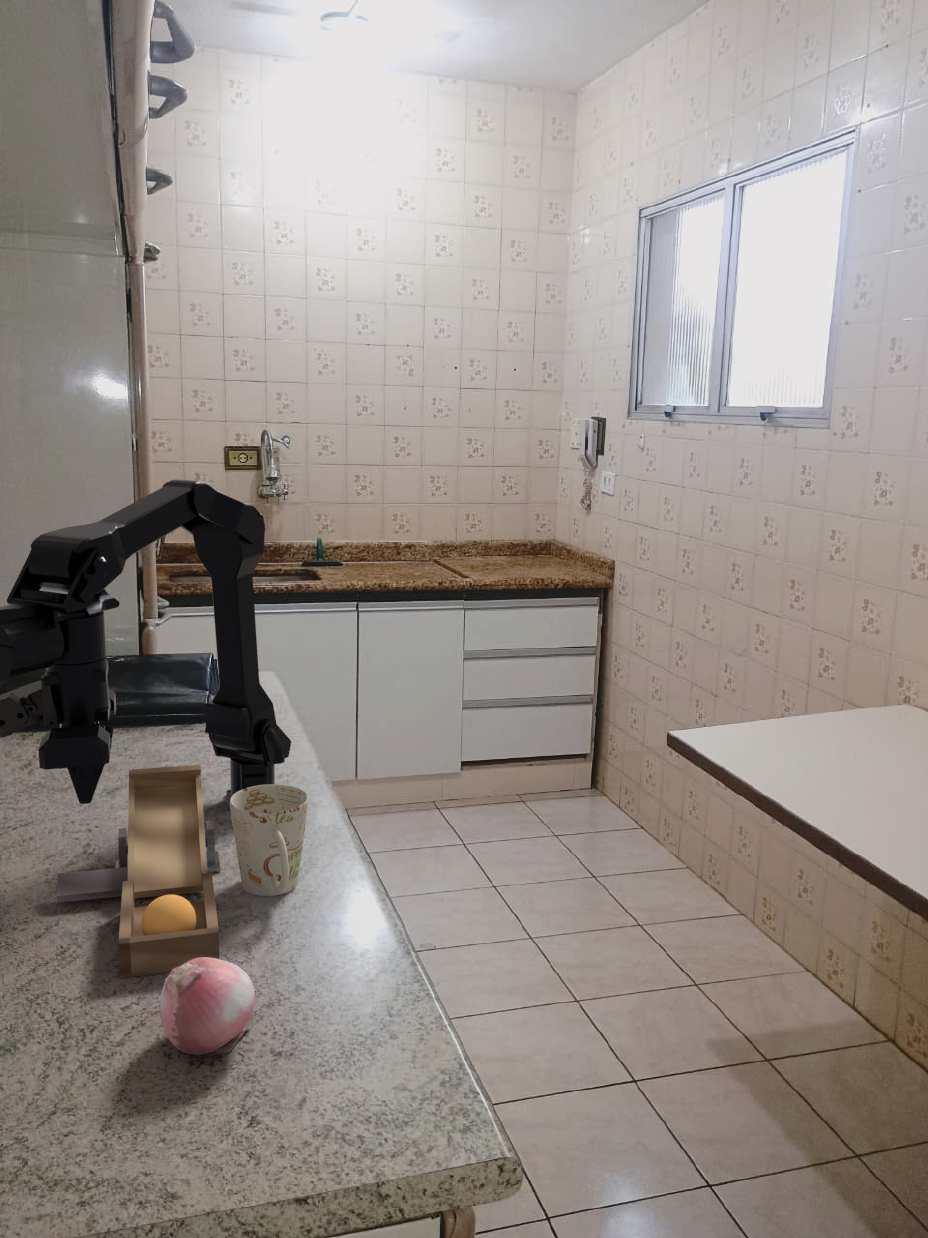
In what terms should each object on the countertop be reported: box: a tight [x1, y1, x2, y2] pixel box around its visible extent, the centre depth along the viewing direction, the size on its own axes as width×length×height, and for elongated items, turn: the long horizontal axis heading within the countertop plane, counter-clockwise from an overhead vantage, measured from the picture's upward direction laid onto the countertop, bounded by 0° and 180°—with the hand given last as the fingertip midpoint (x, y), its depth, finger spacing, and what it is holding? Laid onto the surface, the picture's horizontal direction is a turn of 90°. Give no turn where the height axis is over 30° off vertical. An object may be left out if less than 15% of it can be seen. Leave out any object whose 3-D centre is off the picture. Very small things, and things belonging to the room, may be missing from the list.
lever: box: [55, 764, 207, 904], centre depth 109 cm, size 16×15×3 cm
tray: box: [118, 873, 220, 979], centre depth 97 cm, size 13×9×3 cm
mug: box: [229, 783, 309, 897], centre depth 106 cm, size 8×13×10 cm, turn 25°
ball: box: [141, 894, 196, 936], centre depth 94 cm, size 5×5×5 cm
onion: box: [158, 957, 256, 1058], centre depth 81 cm, size 8×8×7 cm
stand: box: [114, 820, 221, 874], centre depth 111 cm, size 4×11×5 cm, turn 107°
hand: (85, 802), depth 103 cm, fingers closed
